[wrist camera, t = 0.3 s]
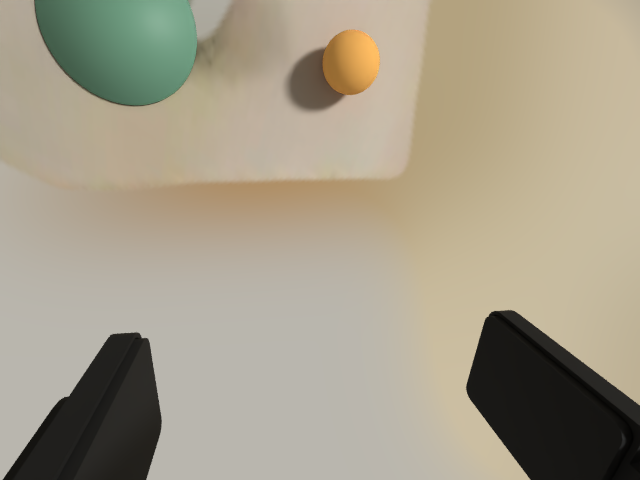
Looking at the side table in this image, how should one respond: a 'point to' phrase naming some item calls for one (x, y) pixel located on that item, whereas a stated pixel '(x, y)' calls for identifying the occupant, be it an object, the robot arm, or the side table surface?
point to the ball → (351, 62)
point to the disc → (122, 45)
